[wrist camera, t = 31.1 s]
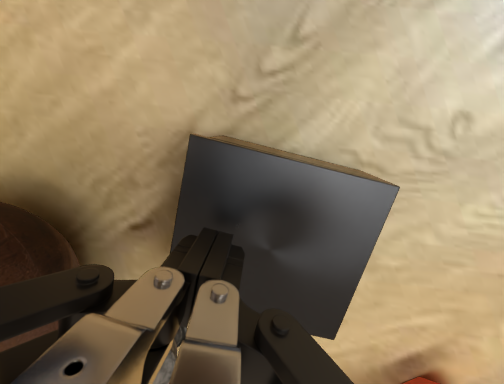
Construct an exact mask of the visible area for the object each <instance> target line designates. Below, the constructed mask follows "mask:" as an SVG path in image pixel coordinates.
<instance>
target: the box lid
mask: <svg viewBox="0 0 504 384" xmlns="http://www.w3.org/2000/svg"><path fill="white" fill-rule="evenodd" d="M399 188H400V187H399V186H397V185H394V184H391V183H387V182H383V181H379V180H375V179H371V178H367V177H363V176H360V175H356V174H352V173H348V172H344V171H340V170H336V169H332V168H328V167H324V166H320V165H316V164H312V163H308V162H304V161H300V160H296V159H292V158H288V157H284V156H280V155H276V154H272V153H268V152H264V151H260V150H256V149H252V148H248V147H244V146H240V145H236V144H232V143H229V142H225V141H221V140H217V139H213V138H209V137H205V136H201V135H197V134H190V138H189V144H188V150H187V155H186V161H185V167H184V173H183V179H182V185H181V191H180V197H179V203H178V209H177V214H176V220H175V226H174V232H173V238H172V244H171V250H170V253H171V252H172V251H173V250H174V248H175V247H176V246H177V244H178V243H179V242H180V240H181V239H182V238H184V237H186V236H188V235H190V234H191V235H195V236H198V235H199V234H200V232H201V230H202V229H203V227H205V228H209V229H213V230H217V231H218V233H219V231H221V232H226V233H230V234H234V236H233V240H232V245H236V246H240V247H242V248H243V250H244V252H245V258H244V264H243V270H242V276H241V283H240V289H239V294H240V297H241V299H242V301H243V302H244V303H245V304H246V305H247V306H248V307H249V308H251V309H252V310H254V311H256V312H258V313H260V314H261V313H262V312H263V311H264V310H266V309H271V308H276V309H281V310H283V311H286V312H287V313H289V314H291V315H292V316H293V317H294V318H295V319H296V320H297V321H298V322H299V323H300V324H301V325H302V327H303V328H304V329H305V330H306V331H307V332H308V333H309V334H310V335H313V336H318V337H322V338H327V339H331V340H334V339H335V337H336V334H337V332H338V330H339V327H340V325H341V323H342V320H343V318H344V316H345V313H346V311H347V309H348V306H349V304H350V302H351V300H352V297H353V295H354V293H355V290H356V288H357V286H358V283H359V281H360V279H361V276H362V274H363V272H364V269H365V267H366V265H367V262H368V260H369V258H370V256H371V253H372V251H373V249H374V246H375V244H376V242H377V239H378V237H379V235H380V232H381V230H382V228H383V225H384V223H385V221H386V218H387V216H388V214H389V212H390V209H391V207H392V205H393V202H394V200H395V198H396V195H397V193H398V191H399Z"/></svg>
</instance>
